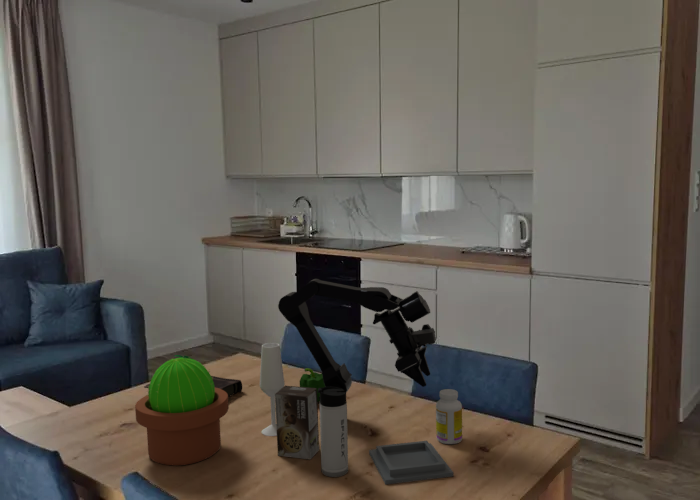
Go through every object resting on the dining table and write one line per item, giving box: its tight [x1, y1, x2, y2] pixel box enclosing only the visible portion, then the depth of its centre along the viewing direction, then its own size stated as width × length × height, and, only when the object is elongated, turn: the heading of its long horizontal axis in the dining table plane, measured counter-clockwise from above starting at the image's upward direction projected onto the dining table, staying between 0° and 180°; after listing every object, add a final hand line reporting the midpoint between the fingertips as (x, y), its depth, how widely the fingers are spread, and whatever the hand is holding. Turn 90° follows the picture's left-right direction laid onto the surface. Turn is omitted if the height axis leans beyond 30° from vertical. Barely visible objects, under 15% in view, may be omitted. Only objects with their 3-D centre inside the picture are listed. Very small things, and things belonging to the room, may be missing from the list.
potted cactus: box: [134, 354, 229, 467], centre depth 157 cm, size 22×22×25 cm
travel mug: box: [318, 387, 349, 478], centre depth 144 cm, size 6×7×20 cm
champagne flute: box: [259, 342, 286, 437], centre depth 168 cm, size 7×7×24 cm
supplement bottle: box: [435, 388, 463, 445], centre depth 160 cm, size 7×7×13 cm
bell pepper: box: [299, 367, 325, 403], centre depth 192 cm, size 8×8×10 cm
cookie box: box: [275, 385, 320, 460], centre depth 155 cm, size 9×6×16 cm
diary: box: [143, 375, 243, 398], centre depth 199 cm, size 19×25×5 cm
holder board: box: [368, 440, 454, 485], centre depth 148 cm, size 16×16×2 cm
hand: (426, 380), depth 168 cm, fingers open, 9 cm apart
